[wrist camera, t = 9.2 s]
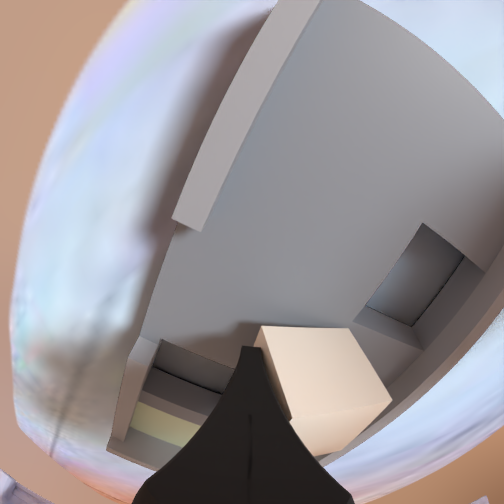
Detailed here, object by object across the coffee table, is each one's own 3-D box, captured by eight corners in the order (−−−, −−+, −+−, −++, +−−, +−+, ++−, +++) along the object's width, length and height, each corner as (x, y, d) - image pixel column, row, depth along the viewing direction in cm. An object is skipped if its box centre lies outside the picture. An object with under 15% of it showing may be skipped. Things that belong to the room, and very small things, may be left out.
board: (523, 172, 10) (580, 197, 6) (278, 457, 21) (277, 499, 17) (300, -5, 8) (313, -61, 4) (124, 406, 19) (106, 450, 15)
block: (348, 328, 12) (392, 400, 8) (313, 384, 13) (341, 450, 10) (261, 325, 11) (292, 417, 7) (236, 387, 12) (254, 465, 9)
